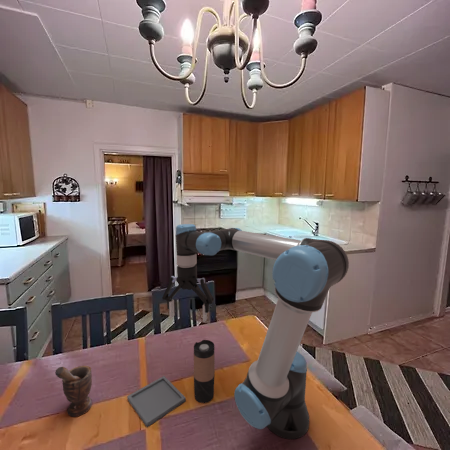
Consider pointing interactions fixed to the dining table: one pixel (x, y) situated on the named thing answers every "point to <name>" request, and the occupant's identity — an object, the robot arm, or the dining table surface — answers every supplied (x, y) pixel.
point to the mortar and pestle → (76, 388)
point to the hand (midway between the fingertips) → (188, 318)
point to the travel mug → (204, 371)
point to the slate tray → (156, 400)
